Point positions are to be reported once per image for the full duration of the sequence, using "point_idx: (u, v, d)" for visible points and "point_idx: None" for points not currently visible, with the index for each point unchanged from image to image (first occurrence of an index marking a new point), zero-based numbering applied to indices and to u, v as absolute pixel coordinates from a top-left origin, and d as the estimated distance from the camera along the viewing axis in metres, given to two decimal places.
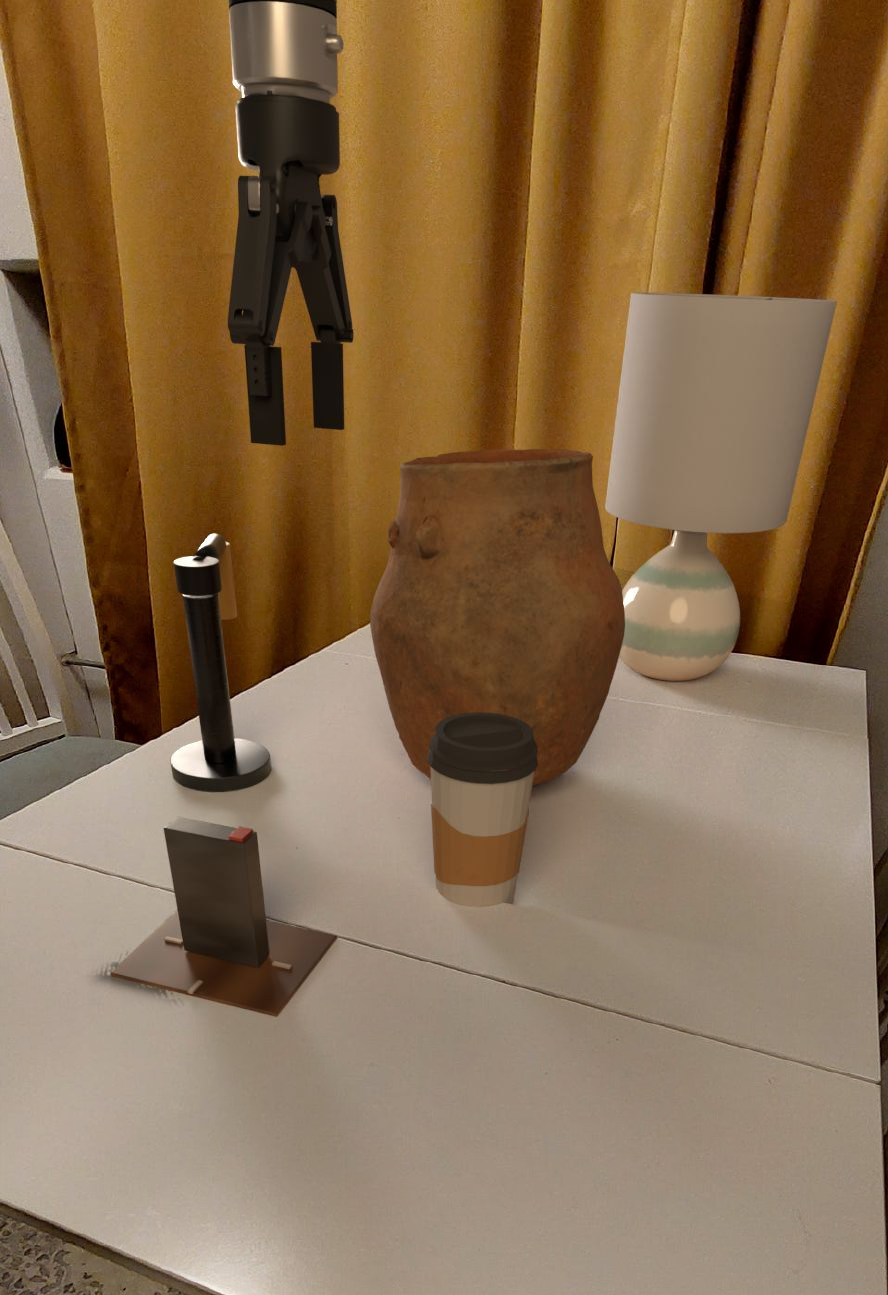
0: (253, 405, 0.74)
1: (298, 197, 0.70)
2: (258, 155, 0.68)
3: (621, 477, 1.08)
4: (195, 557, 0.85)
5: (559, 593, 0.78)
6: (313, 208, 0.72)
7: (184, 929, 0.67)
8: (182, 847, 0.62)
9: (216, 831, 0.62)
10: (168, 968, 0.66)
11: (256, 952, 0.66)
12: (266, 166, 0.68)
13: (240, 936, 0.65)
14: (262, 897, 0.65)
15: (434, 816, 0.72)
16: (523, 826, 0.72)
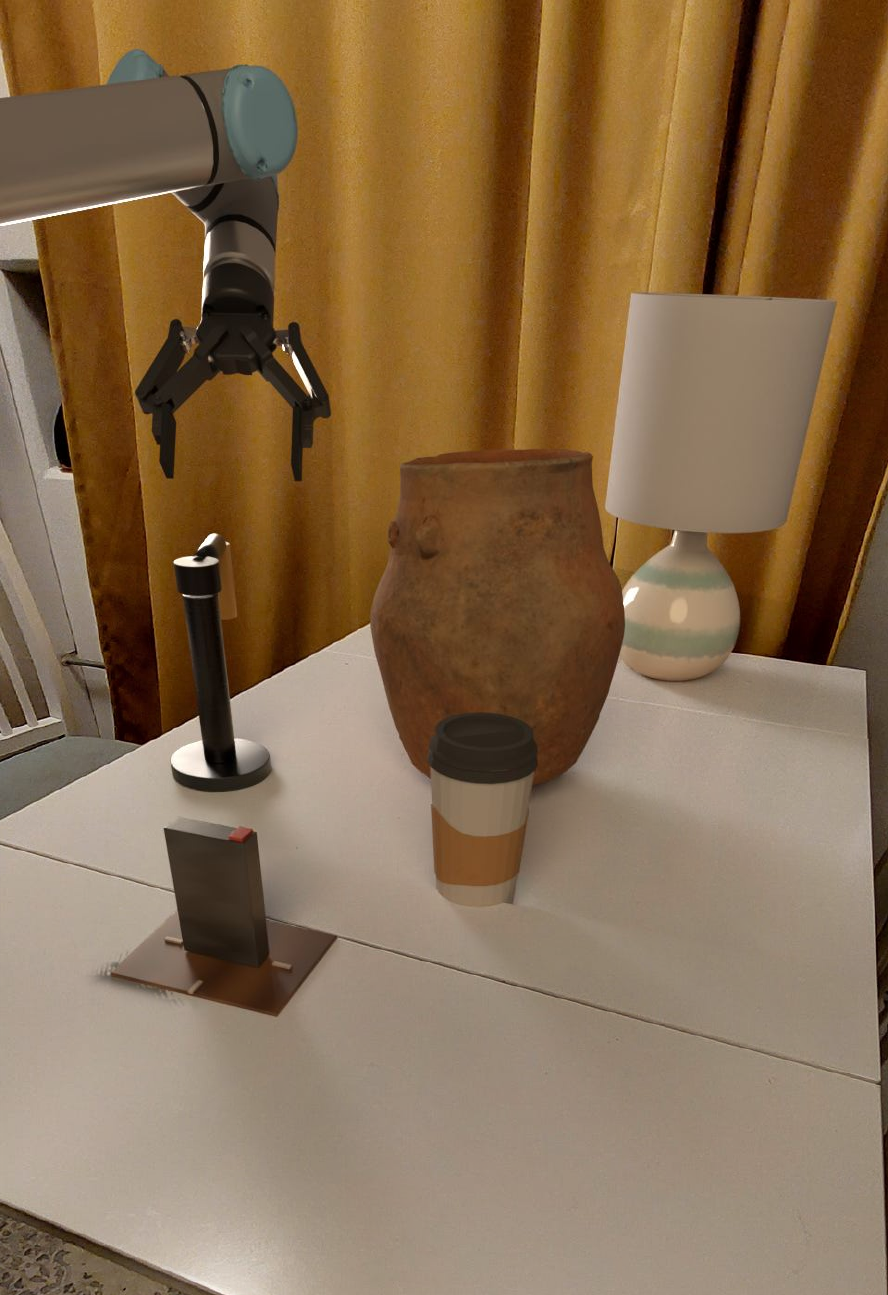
0: (299, 443, 0.98)
1: None
2: (270, 312, 1.00)
3: (621, 477, 1.08)
4: (195, 557, 0.85)
5: (559, 593, 0.78)
6: None
7: (184, 929, 0.67)
8: (182, 847, 0.62)
9: (216, 831, 0.62)
10: (168, 968, 0.66)
11: (256, 952, 0.66)
12: (272, 322, 1.00)
13: (240, 936, 0.65)
14: (262, 897, 0.65)
15: (434, 816, 0.72)
16: (523, 826, 0.72)
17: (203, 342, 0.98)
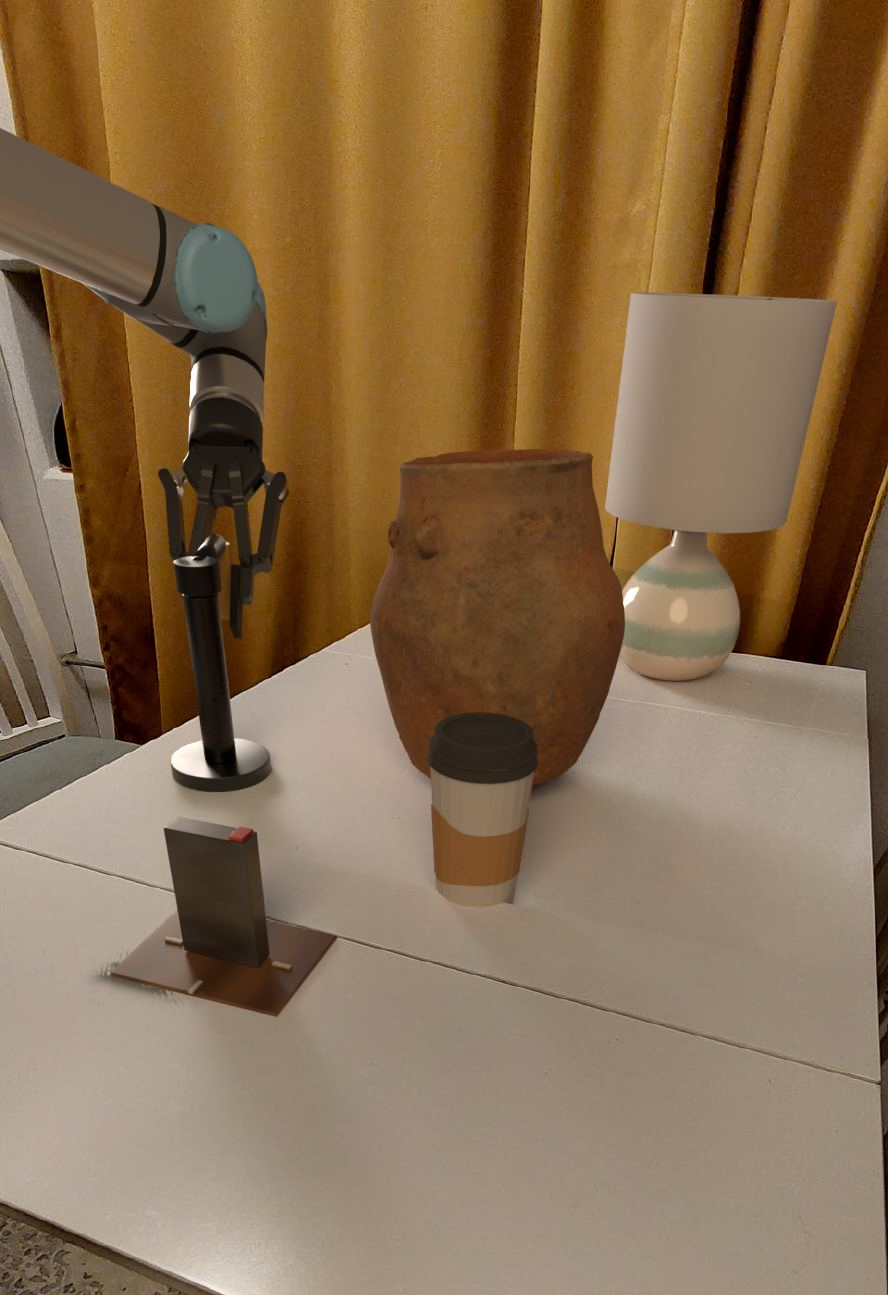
0: (238, 602, 0.94)
1: None
2: (259, 445, 0.97)
3: (621, 477, 1.08)
4: (195, 557, 0.85)
5: (559, 593, 0.78)
6: None
7: (184, 929, 0.67)
8: (182, 847, 0.62)
9: (216, 831, 0.62)
10: (168, 968, 0.66)
11: (256, 952, 0.66)
12: (261, 454, 0.97)
13: (240, 936, 0.65)
14: (262, 897, 0.65)
15: (434, 816, 0.72)
16: (523, 826, 0.72)
17: (201, 484, 0.95)
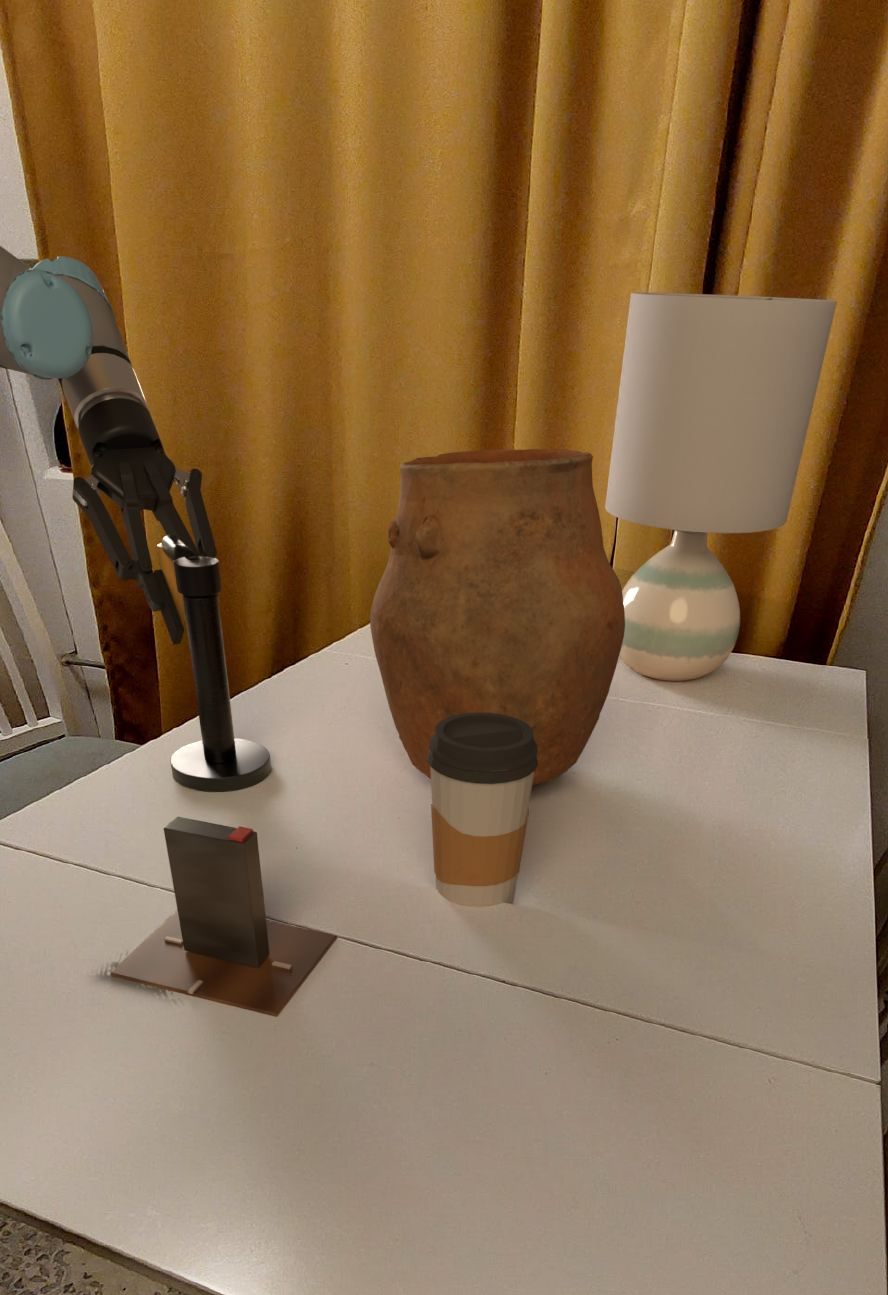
0: None
1: None
2: (161, 444, 0.96)
3: (621, 477, 1.08)
4: (191, 557, 0.85)
5: (559, 593, 0.78)
6: None
7: (184, 929, 0.67)
8: (182, 847, 0.62)
9: (216, 831, 0.62)
10: (168, 968, 0.66)
11: (256, 952, 0.66)
12: None
13: (240, 936, 0.65)
14: (262, 897, 0.65)
15: (434, 816, 0.72)
16: (523, 826, 0.72)
17: (125, 490, 0.93)
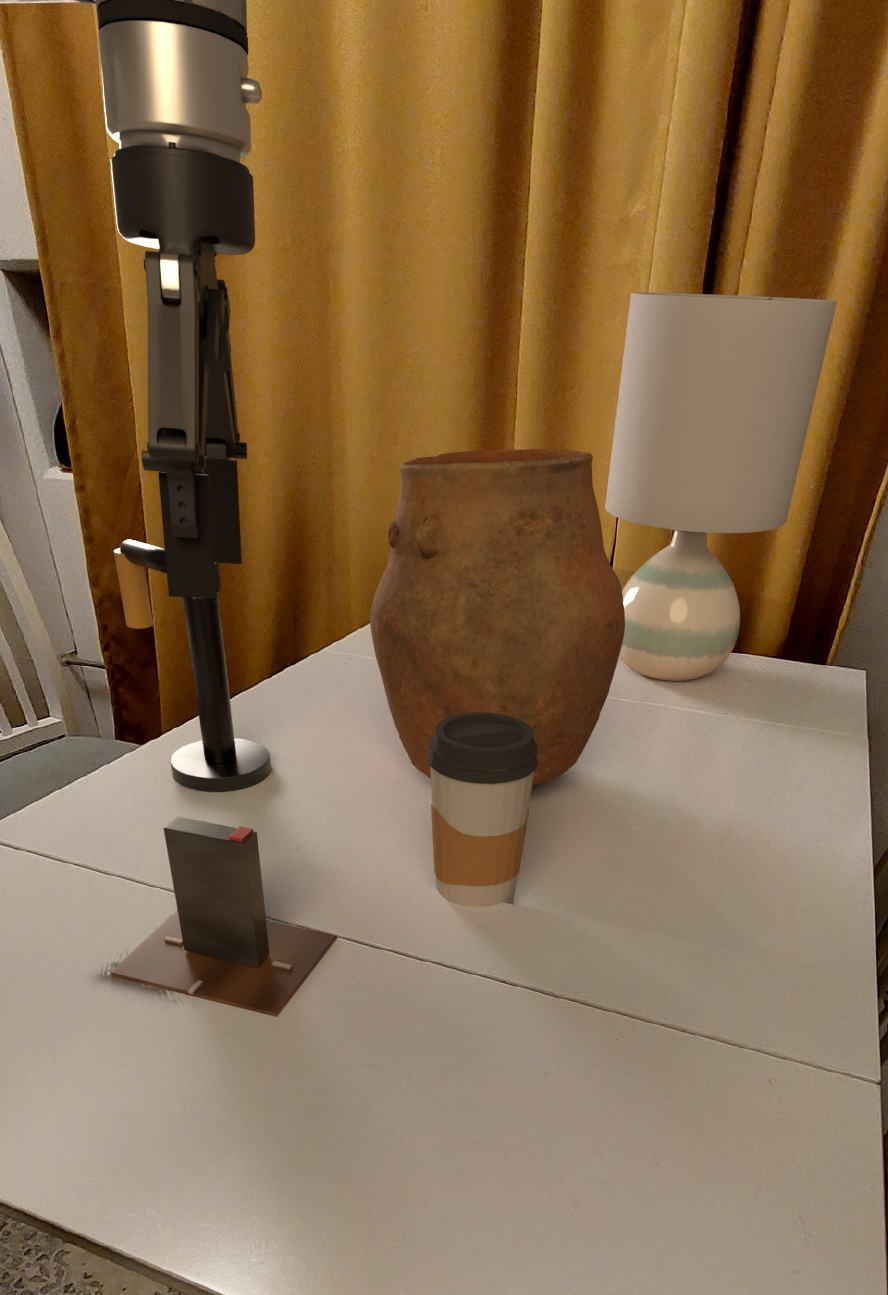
0: (171, 548, 0.54)
1: (206, 282, 0.53)
2: (159, 225, 0.49)
3: (621, 477, 1.08)
4: None
5: (559, 593, 0.78)
6: None
7: (184, 929, 0.67)
8: (182, 847, 0.62)
9: (216, 831, 0.62)
10: (168, 968, 0.66)
11: (256, 952, 0.66)
12: (171, 240, 0.50)
13: (240, 936, 0.65)
14: (262, 897, 0.65)
15: (434, 816, 0.72)
16: (523, 826, 0.72)
17: None
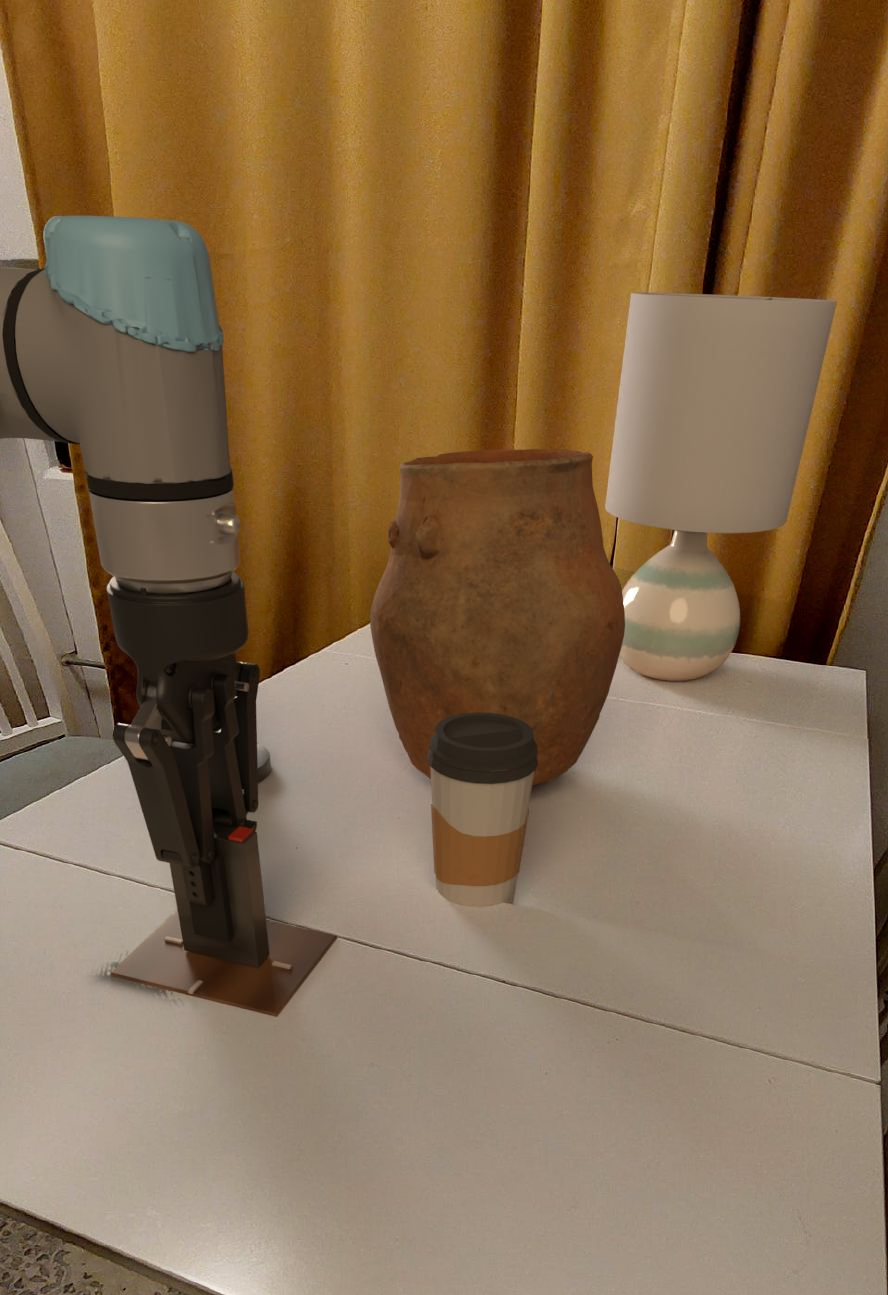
0: (194, 903, 0.64)
1: (193, 682, 0.54)
2: (134, 654, 0.52)
3: (621, 477, 1.08)
4: None
5: (559, 593, 0.78)
6: (220, 675, 0.56)
7: (184, 929, 0.67)
8: None
9: (216, 831, 0.62)
10: (168, 968, 0.66)
11: (256, 952, 0.66)
12: (145, 667, 0.52)
13: (240, 936, 0.65)
14: (262, 897, 0.65)
15: (434, 816, 0.72)
16: (523, 826, 0.72)
17: None
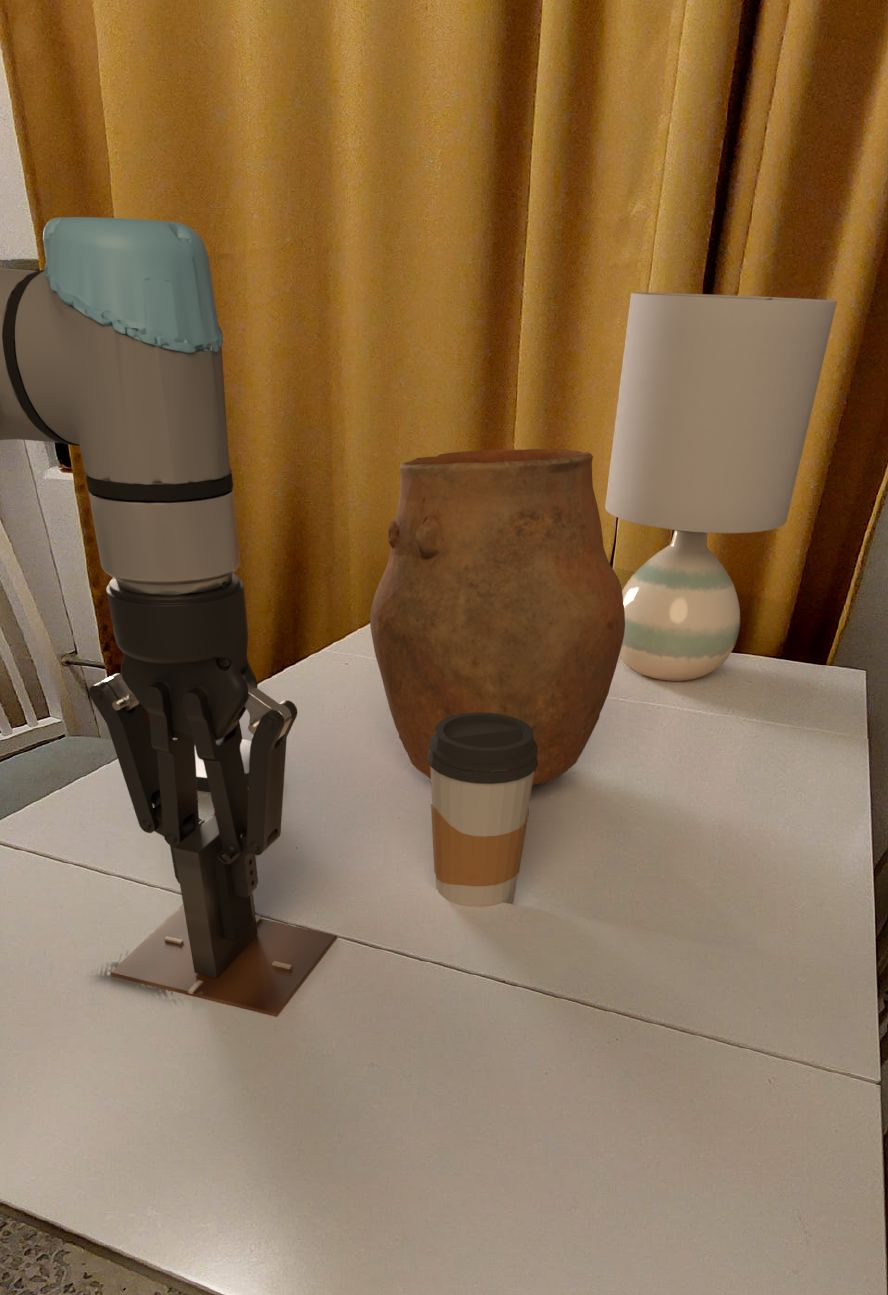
0: (233, 906, 0.64)
1: None
2: (230, 651, 0.53)
3: (621, 477, 1.08)
4: None
5: (559, 593, 0.78)
6: None
7: (215, 953, 0.65)
8: (210, 860, 0.61)
9: (214, 826, 0.62)
10: (168, 968, 0.66)
11: (255, 918, 0.69)
12: (239, 658, 0.54)
13: None
14: None
15: (434, 816, 0.72)
16: (523, 826, 0.72)
17: (152, 730, 0.57)
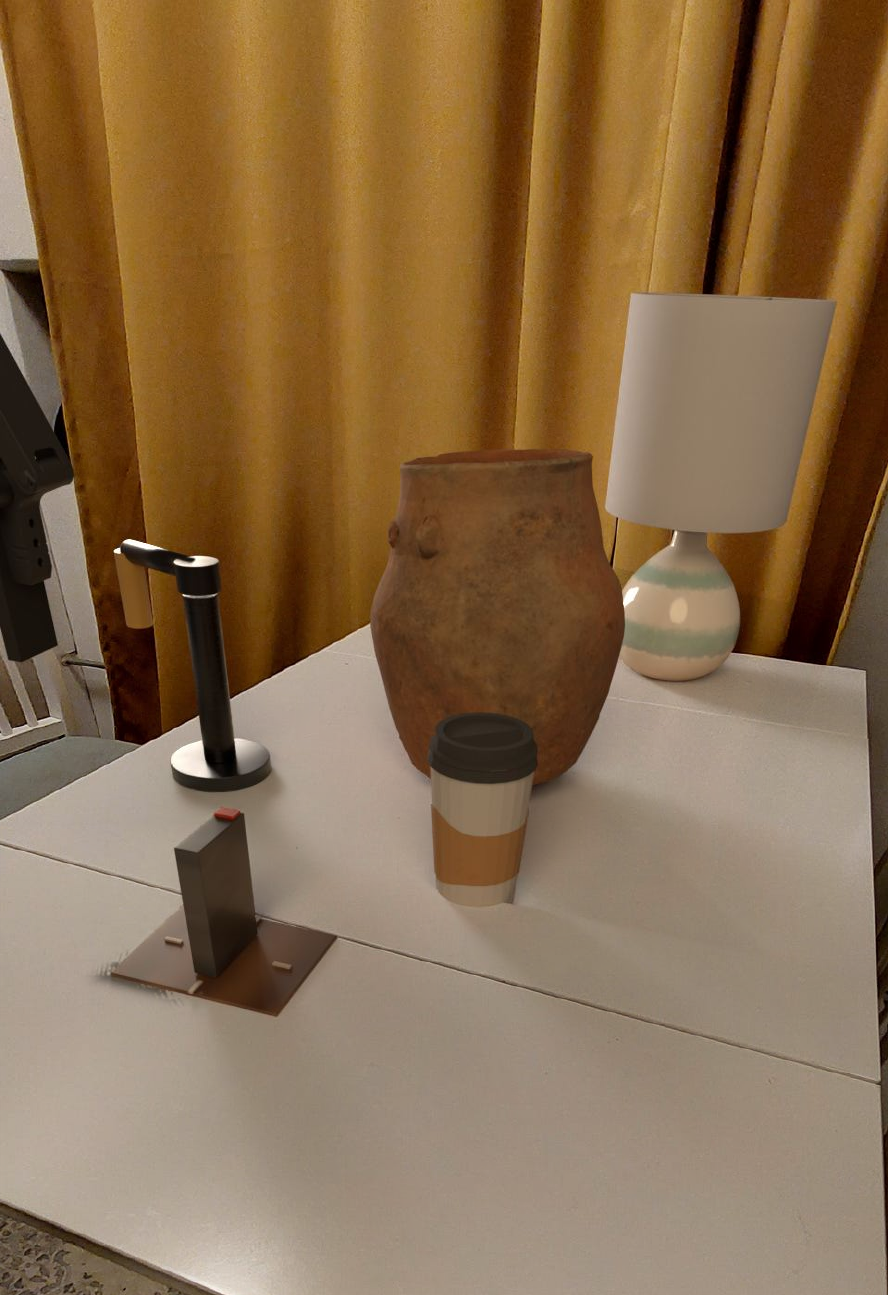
0: (13, 601, 0.43)
1: None
2: None
3: (621, 477, 1.08)
4: (188, 558, 0.85)
5: (559, 593, 0.78)
6: None
7: (215, 953, 0.65)
8: (210, 860, 0.61)
9: (214, 826, 0.62)
10: (168, 968, 0.66)
11: (255, 918, 0.69)
12: None
13: (247, 913, 0.68)
14: None
15: (434, 816, 0.72)
16: (523, 826, 0.72)
17: None
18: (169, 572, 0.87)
